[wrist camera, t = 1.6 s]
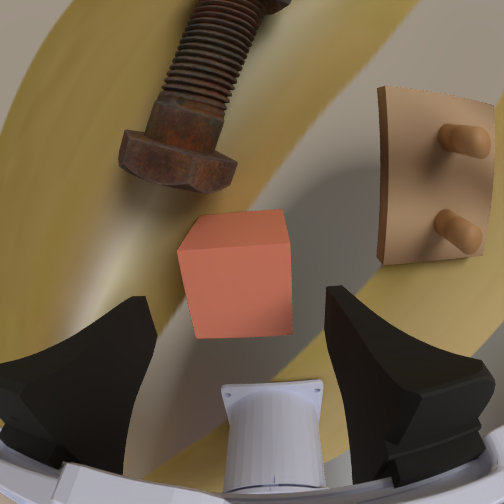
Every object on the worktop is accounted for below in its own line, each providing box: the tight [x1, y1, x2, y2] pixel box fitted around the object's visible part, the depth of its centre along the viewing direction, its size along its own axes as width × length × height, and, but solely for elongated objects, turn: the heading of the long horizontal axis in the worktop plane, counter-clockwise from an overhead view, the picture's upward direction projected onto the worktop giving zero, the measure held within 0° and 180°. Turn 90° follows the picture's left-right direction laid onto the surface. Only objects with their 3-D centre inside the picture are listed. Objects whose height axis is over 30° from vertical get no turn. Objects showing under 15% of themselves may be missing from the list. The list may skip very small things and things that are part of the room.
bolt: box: [118, 0, 291, 193], centre depth 11 cm, size 6×5×15 cm
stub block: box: [377, 86, 495, 265], centre depth 13 cm, size 10×8×4 cm
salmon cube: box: [177, 209, 293, 338], centre depth 15 cm, size 5×5×5 cm
